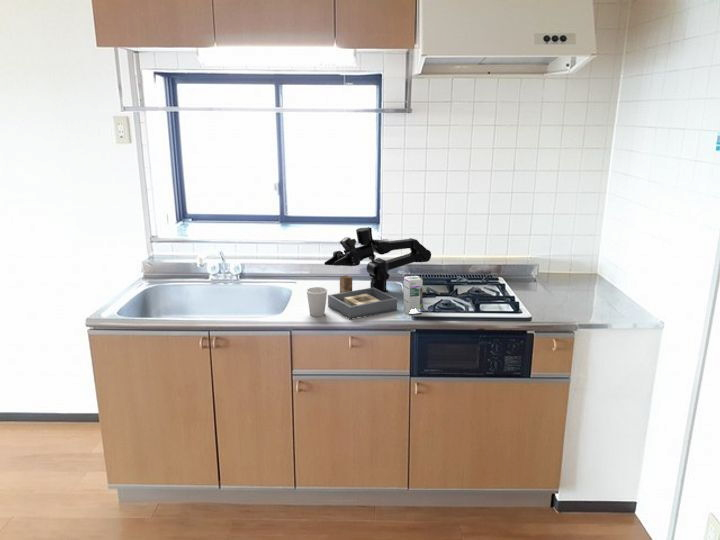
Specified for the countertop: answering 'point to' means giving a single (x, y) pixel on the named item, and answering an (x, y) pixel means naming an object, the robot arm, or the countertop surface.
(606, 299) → the countertop surface
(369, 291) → the charcoal tray
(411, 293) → the syrup box
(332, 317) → the countertop surface
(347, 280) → the walnut peg
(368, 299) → the birch bore plate
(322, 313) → the dixie cup
